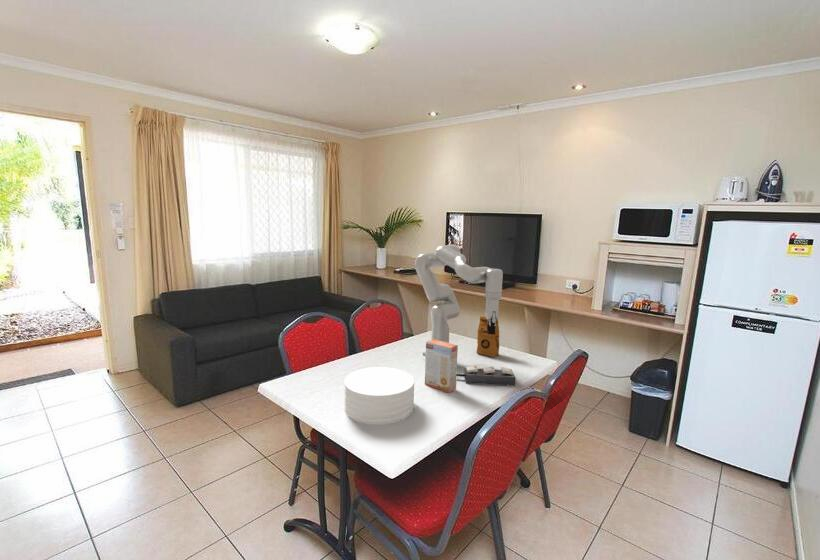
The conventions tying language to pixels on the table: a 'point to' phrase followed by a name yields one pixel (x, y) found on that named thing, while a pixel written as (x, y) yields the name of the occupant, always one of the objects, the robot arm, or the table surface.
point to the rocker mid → (488, 369)
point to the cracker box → (441, 365)
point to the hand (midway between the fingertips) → (491, 332)
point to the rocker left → (472, 369)
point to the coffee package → (487, 339)
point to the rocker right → (507, 370)
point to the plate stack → (379, 395)
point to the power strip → (488, 377)
